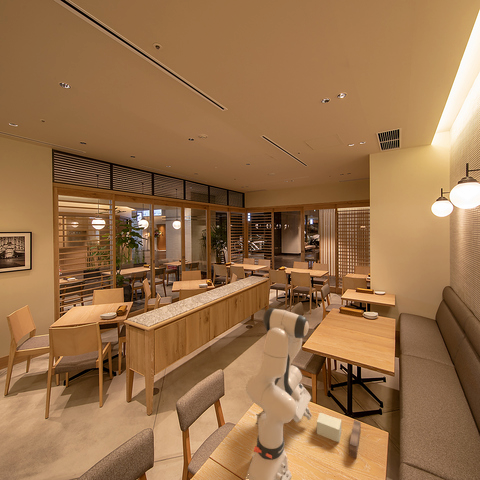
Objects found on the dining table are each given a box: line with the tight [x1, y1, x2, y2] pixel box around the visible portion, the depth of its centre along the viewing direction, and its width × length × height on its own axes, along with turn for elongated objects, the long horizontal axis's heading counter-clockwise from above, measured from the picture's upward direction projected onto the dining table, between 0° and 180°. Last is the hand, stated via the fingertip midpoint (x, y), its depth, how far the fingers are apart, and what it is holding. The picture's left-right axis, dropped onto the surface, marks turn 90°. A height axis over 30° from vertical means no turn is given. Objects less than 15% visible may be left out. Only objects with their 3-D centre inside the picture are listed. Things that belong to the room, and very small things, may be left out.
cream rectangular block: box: [316, 412, 342, 443], centre depth 129 cm, size 7×11×7 cm, turn 59°
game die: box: [255, 409, 265, 425], centre depth 134 cm, size 9×8×10 cm
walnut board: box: [349, 419, 362, 459], centre depth 122 cm, size 16×3×6 cm, turn 148°
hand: (310, 417), depth 134 cm, fingers closed
